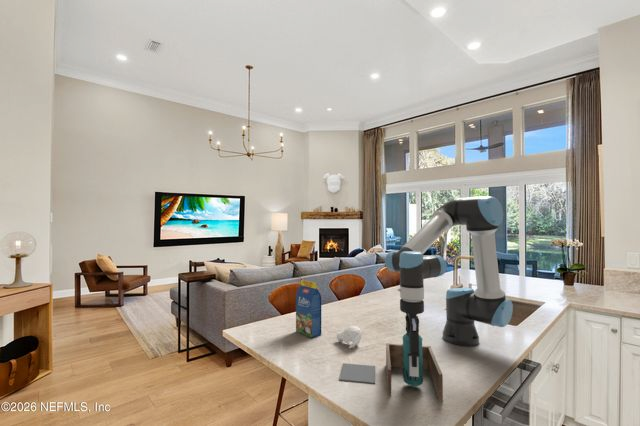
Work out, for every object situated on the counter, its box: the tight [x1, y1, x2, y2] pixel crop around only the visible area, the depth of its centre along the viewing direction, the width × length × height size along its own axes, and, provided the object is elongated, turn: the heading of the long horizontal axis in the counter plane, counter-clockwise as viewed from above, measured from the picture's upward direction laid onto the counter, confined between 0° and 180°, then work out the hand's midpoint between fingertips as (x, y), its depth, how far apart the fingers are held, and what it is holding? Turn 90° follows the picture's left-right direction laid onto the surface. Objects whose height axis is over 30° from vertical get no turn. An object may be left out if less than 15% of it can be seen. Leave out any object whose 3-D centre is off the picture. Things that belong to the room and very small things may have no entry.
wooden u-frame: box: [385, 342, 444, 402], centre depth 103 cm, size 16×21×8 cm
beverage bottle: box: [402, 323, 424, 387], centre depth 100 cm, size 6×7×20 cm
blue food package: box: [295, 279, 322, 339], centre depth 148 cm, size 6×12×25 cm, turn 42°
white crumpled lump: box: [336, 325, 363, 349], centre depth 134 cm, size 6×8×12 cm
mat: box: [338, 363, 376, 385], centre depth 109 cm, size 12×12×1 cm
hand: (412, 370), depth 100 cm, fingers closed on beverage bottle, 6 cm apart
